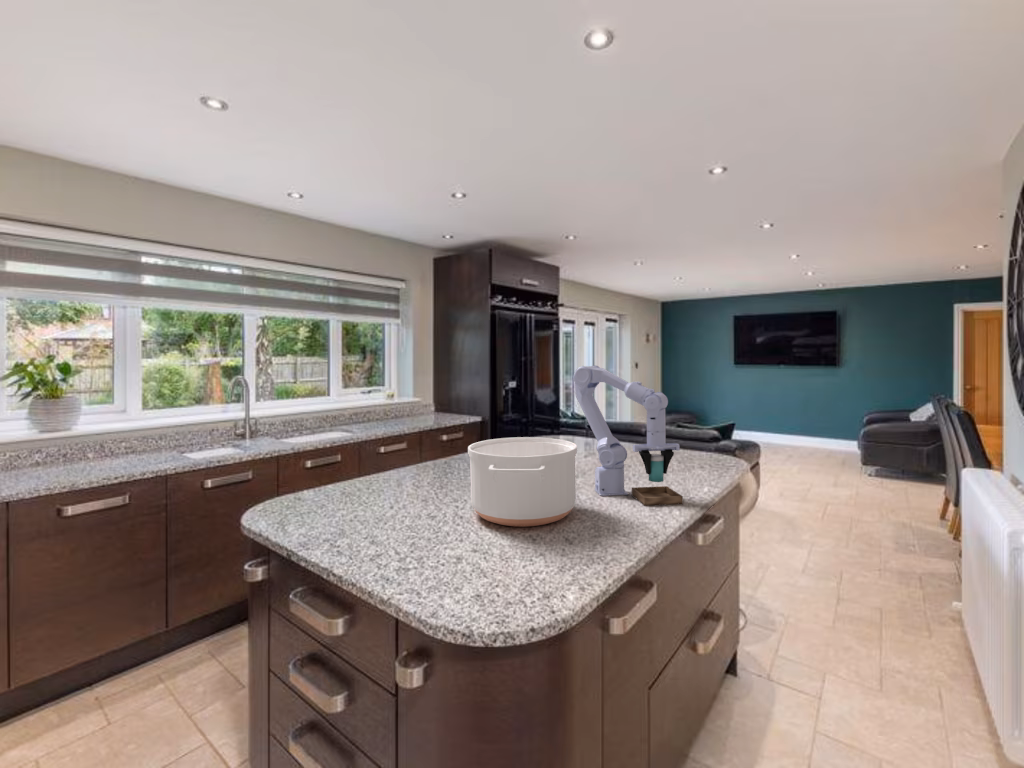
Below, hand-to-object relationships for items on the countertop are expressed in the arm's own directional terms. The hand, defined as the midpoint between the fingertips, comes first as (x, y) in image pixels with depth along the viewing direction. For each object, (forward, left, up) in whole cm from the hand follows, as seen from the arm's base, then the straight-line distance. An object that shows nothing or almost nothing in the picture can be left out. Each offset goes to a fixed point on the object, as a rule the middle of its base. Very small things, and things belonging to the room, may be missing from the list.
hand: (656, 473), depth 155 cm
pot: (-43, -8, -9) cm, 45 cm away
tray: (0, 0, -8) cm, 8 cm away
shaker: (0, 0, -2) cm, 2 cm away
